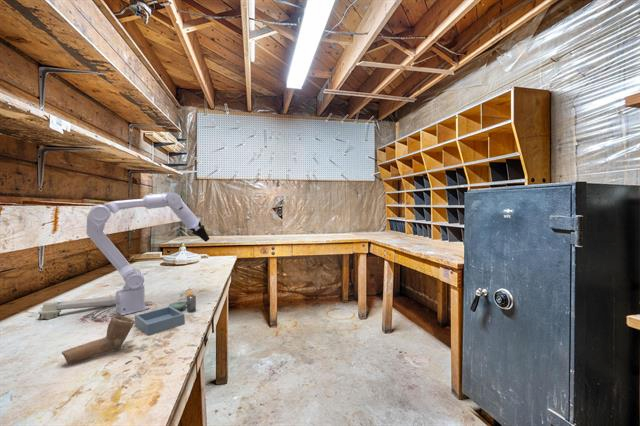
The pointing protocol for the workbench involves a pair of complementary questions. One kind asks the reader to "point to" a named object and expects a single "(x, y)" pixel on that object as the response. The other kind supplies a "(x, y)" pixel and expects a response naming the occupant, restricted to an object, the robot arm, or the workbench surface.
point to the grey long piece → (74, 305)
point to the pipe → (102, 341)
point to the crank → (180, 303)
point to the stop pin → (191, 303)
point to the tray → (159, 320)
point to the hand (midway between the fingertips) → (206, 238)
